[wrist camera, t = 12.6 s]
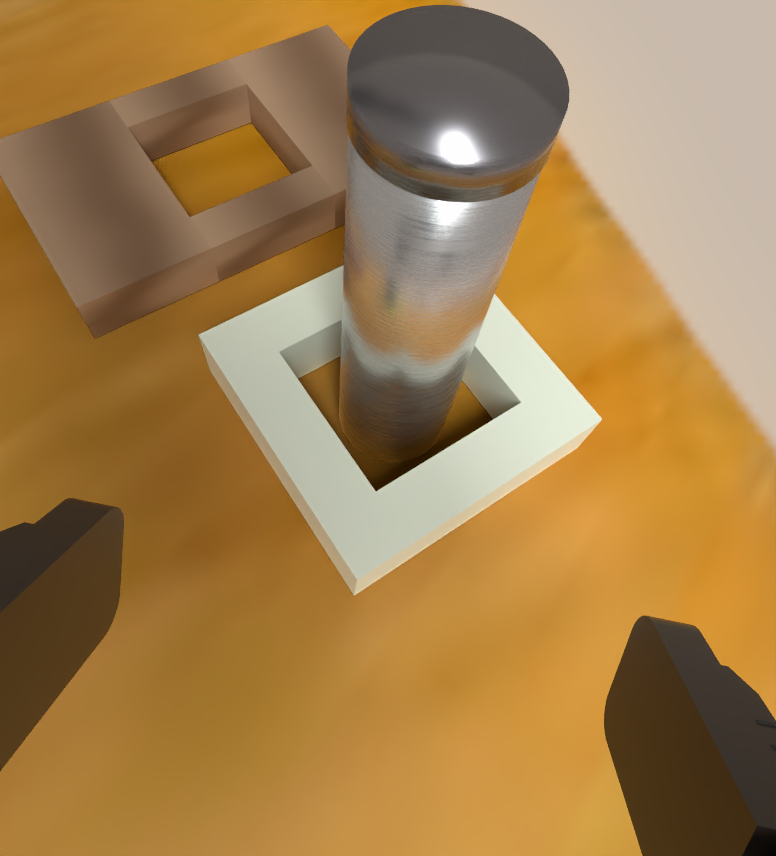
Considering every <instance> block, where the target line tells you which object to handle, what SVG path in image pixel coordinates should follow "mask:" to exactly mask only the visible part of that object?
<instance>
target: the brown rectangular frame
mask: <svg viewBox="0 0 776 856" xmlns="http://www.w3.org/2000/svg"><path fill="white" fill-rule="evenodd" d="M350 52H351V50H350V49H349V48H348V46H347V45H346V44H345V43H344V42H343V41H342V40H341V39H340V38H339V37H338V35H337V34H336V33H335V32H334V31H333V30H332V29H331V28H330V27H329V26H328V25H326V26H323V27H320V28H317V29H314V30H311V31H309V32H306V33H303V34H300V35H297V36H294V37H291V38H288V39H286V40H283V41H280V42H277V43H274V44H271V45H268V46H265V47H263V48H260V49H257V50H254V51H251V52H248V53H245V54H242V55H239V56H237V57H234V58H231V59H228V60H225V61H222V62H219V63H216V64H214V65H211V66H208V67H205V68H202V69H199V70H196V71H193V72H191V73H188V74H185V75H182V76H179V77H176V78H173V79H170V80H168V81H165V82H162V83H159V84H156V85H153V86H150V87H147V88H144V89H142V90H139V91H136V92H133V93H130V94H127V95H124V96H121V97H119V98H116V99H113V100H110V101H107V102H104V103H101V104H98V105H96V106H93V107H90V108H87V109H84V110H81V111H78V112H75V113H73V114H70V115H67V116H64V117H61V118H58V119H55V120H52V121H50V122H47V123H44V124H41V125H38V126H35V127H32V128H29V129H26V130H24V131H21V132H18V133H15V134H12V135H9V136H6V137H3V138H1V139H0V176H1V178H2V180H3V181H4V183H5V185H6V186H7V188H8V190H9V192H10V193H11V195H12V197H13V199H14V200H15V202H16V204H17V205H18V207H19V209H20V211H21V212H22V214H23V216H24V218H25V219H26V221H27V223H28V224H29V226H30V228H31V230H32V231H33V233H34V235H35V237H36V238H37V240H38V242H39V243H40V245H41V247H42V249H43V250H44V252H45V254H46V256H47V257H48V259H49V261H50V262H51V264H52V266H53V268H54V269H55V271H56V273H57V275H58V276H59V278H60V280H61V281H62V283H63V285H64V287H65V288H66V290H67V292H68V294H69V295H70V297H71V299H72V300H73V302H74V304H75V306H76V307H77V309H78V311H79V312H80V314H81V316H82V317H83V319H84V321H85V323H86V324H87V326H88V328H89V329H90V331H91V333H92V334H93V336H94V338H97V337H99V336H101V335H103V334H106V333H108V332H110V331H112V330H114V329H116V328H119V327H121V326H123V325H125V324H127V323H130V322H132V321H134V320H136V319H138V318H140V317H143V316H145V315H147V314H149V313H151V312H154V311H156V310H158V309H160V308H162V307H165V306H167V305H169V304H171V303H173V302H175V301H178V300H180V299H182V298H184V297H186V296H189V295H191V294H193V293H195V292H197V291H199V290H202V289H204V288H206V287H208V286H210V285H213V284H215V283H217V282H219V281H221V280H223V279H226V278H228V277H230V276H232V275H234V274H237V273H239V272H241V271H243V270H245V269H247V268H250V267H252V266H254V265H256V264H258V263H261V262H263V261H265V260H267V259H269V258H271V257H274V256H276V255H278V254H280V253H282V252H285V251H287V250H289V249H291V248H293V247H295V246H298V245H300V244H302V243H304V242H306V241H309V240H311V239H313V238H315V237H317V236H319V235H322V234H324V233H326V232H328V231H330V230H333V229H335V228H337V227H339V226H341V225H344V224H345V208H346V178H347V147H348V131H347V125H346V97H347V64H348V59H349V55H350ZM249 123H252V124H253V125H254V127H255V128H256V129H257V130H258V132H259V133H260V134H261V135H262V137H263V138H264V139H265V141H266V142H267V143H268V144H269V146H270V147H271V148H272V149H273V151H274V152H275V153H276V154H277V156H278V157H279V158H280V160H281V161H282V162H283V163H284V165H285V166H286V167H287V168H288V170H289V171H290V172H291V173H292V174H291V175H289V176H287V177H284V178H282V179H279V180H277V181H275V182H272V183H270V184H268V185H265V186H263V187H260V188H258V189H256V190H253V191H251V192H248V193H246V194H244V195H241V196H239V197H237V198H234V199H232V200H229V201H227V202H225V203H222V204H220V205H217V206H215V207H213V208H210V209H208V210H206V211H203V212H201V213H198V214H196V215H194V216H191V217H189V215H188V214H187V212H186V211H185V210H184V208H183V207H182V205H181V204H180V202H179V201H178V200H177V198H176V197H175V195H174V194H173V192H172V191H171V189H170V188H169V187H168V185H167V184H166V182H165V181H164V179H163V178H162V176H161V175H160V174H159V172H158V171H157V169H156V168H155V166H154V165H153V164H152V162H151V161H152V160H155V159H157V158H160V157H163V156H165V155H168V154H171V153H173V152H176V151H178V150H181V149H184V148H186V147H189V146H191V145H194V144H197V143H199V142H202V141H204V140H207V139H210V138H212V137H215V136H217V135H220V134H223V133H225V132H228V131H230V130H233V129H236V128H238V127H241V126H243V125H246V124H249Z"/></svg>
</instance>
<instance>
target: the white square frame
mask: <svg viewBox="0 0 776 856" xmlns="http://www.w3.org/2000/svg"><path fill="white" fill-rule="evenodd" d="M343 270H344V265H343V266H340V267H338V268H336V269H334V270H332V271H330V272H328V273H326V274H324V275H322V276H320V277H318V278H315V279H313V280H311V281H309V282H307V283H305V284H303V285H301V286H299V287H297V288H295V289H293V290H290V291H288V292H286V293H284V294H282V295H280V296H278V297H276V298H274V299H272V300H270V301H268V302H265V303H263V304H261V305H259V306H257V307H255V308H253V309H251V310H249V311H247V312H245V313H243V314H240V315H238V316H236V317H234V318H232V319H230V320H228V321H226V322H224V323H222V324H220V325H218V326H215V327H213V328H211V329H209V330H207V331H205V332H203V333H201V334H199V338H200V341H201V345H202V348H203V351H204V354H205V357H206V360H207V363H208V366H209V369H210V372H211V373H212V375H213V376H214V378H215V379H216V381H217V383H218V384H219V386H220V387H221V389H222V390H223V392H224V393H225V395H226V397H227V398H228V400H229V401H230V403H231V404H232V406H233V408H234V409H235V411H236V412H237V414H238V415H239V417H240V418H241V420H242V422H243V423H244V425H245V426H246V428H247V429H248V431H249V433H250V434H251V436H252V437H253V439H254V440H255V442H256V443H257V445H258V447H259V448H260V450H261V451H262V453H263V454H264V456H265V458H266V459H267V461H268V462H269V464H270V465H271V467H272V468H273V470H274V472H275V473H276V475H277V476H278V478H279V479H280V481H281V483H282V484H283V486H284V487H285V489H286V490H287V492H288V493H289V495H290V497H291V498H292V500H293V501H294V503H295V504H296V506H297V508H298V509H299V511H300V512H301V514H302V515H303V517H304V518H305V520H306V522H307V523H308V525H309V526H310V528H311V529H312V531H313V533H314V534H315V536H316V537H317V539H318V540H319V542H320V543H321V545H322V547H323V548H324V550H325V551H326V553H327V554H328V556H329V558H330V559H331V561H332V562H333V564H334V565H335V567H336V568H337V570H338V572H339V573H340V575H341V576H342V578H343V579H344V581H345V583H346V584H347V586H348V587H349V589H350V590H351V592H352V593H353V595H356V594H357V593H359V592H360V591H362V590H364V589H365V588H367V587H368V586H370V585H371V584H373V583H374V582H376V581H377V580H379V579H380V578H382V577H383V576H385V575H386V574H388V573H389V572H391V571H392V570H394V569H395V568H397V567H398V566H400V565H401V564H403V563H404V562H406V561H407V560H409V559H410V558H412V557H413V556H415V555H416V554H418V553H419V552H421V551H422V550H424V549H425V548H427V547H428V546H430V545H431V544H433V543H434V542H436V541H438V540H439V539H441V538H442V537H444V536H445V535H447V534H448V533H450V532H451V531H453V530H454V529H456V528H457V527H459V526H460V525H462V524H463V523H465V522H466V521H468V520H469V519H471V518H472V517H474V516H475V515H477V514H478V513H480V512H481V511H483V510H484V509H486V508H487V507H489V506H490V505H492V504H493V503H495V502H496V501H498V500H499V499H501V498H502V497H504V496H505V495H507V494H508V493H510V492H512V491H513V490H515V489H516V488H518V487H519V486H521V485H522V484H524V483H525V482H527V481H528V480H530V479H531V478H533V477H534V476H536V475H537V474H539V473H540V472H542V471H543V470H545V469H546V468H548V467H549V466H551V465H552V464H554V463H555V462H557V461H558V460H560V459H561V458H563V457H564V456H566V455H567V454H569V453H570V452H572V451H573V450H575V449H576V448H578V447H579V445H580V444H581V443H582V442H583V441H584V440H585V439H586V437H587V436H588V435H589V434H590V433H591V432H592V431H593V429H594V428H595V427H596V426H597V425H598V424H599V423H600V421H601V420H602V418H601V417H600V416H599V415H598V414H597V413H596V411H595V410H594V409H593V408H592V407H591V406H590V404H589V403H588V402H587V401H586V400H585V399H584V397H583V396H582V395H581V394H580V393H579V392H578V390H577V389H576V388H575V387H574V386H573V385H572V383H571V382H570V381H569V380H568V379H567V378H566V376H565V375H564V374H563V373H562V372H561V371H560V370H559V368H558V367H557V366H556V365H555V364H554V363H553V361H552V360H551V359H550V358H549V357H548V356H547V354H546V353H545V352H544V351H543V350H542V349H541V347H540V346H539V345H538V344H537V343H536V342H535V340H534V339H533V338H532V337H531V336H530V335H529V333H528V332H527V331H526V330H525V329H524V328H523V327H522V325H521V324H520V323H519V322H518V321H517V320H516V318H515V317H514V316H513V315H512V314H511V313H510V311H509V310H508V309H507V308H506V307H505V306H504V304H503V303H502V302H501V301H500V300H499V299H498V297H497V296H496V295H495V294H494V296H493V298H492V301H491V304H490V306H489V309H488V312H487V314H486V317H485V320H484V322H483V325H482V328H481V330H480V333H479V335H478V338H477V341H476V343H475V346H474V349H473V351H472V354H471V357H470V359H469V362H468V364H467V367H466V370H465V372H464V375H463V378H462V381H463V382H464V383H465V385H466V386H467V387H468V388H469V390H470V391H471V392H472V393H473V395H474V396H475V397H476V398H477V400H478V401H479V402H480V403H481V405H482V406H483V407H484V408H485V410H486V411H487V412H488V414H489V415H490V416H491V417H492V419H493V420H492V421H490V422H488V423H487V424H485V425H484V426H482V427H480V428H479V429H477V430H475V431H474V432H472V433H471V434H469V435H467V436H466V437H464V438H462V439H461V440H459V441H457V442H456V443H454V444H453V445H451V446H449V447H448V448H446V449H444V450H443V451H441V452H440V453H438V454H436V455H435V456H433V457H431V458H430V459H428V460H426V461H425V462H423V463H422V464H420V465H418V466H417V467H415V468H413V469H412V470H410V471H409V472H407V473H405V474H404V475H402V476H400V477H399V478H397V479H395V480H394V481H392V482H391V483H389V484H387V485H386V486H384V487H382V488H381V489H379V490H378V491H375V490H374V488H373V487H372V485H371V484H370V483H369V481H368V480H367V478H366V477H365V475H364V474H363V472H362V471H361V470H360V468H359V467H358V465H357V464H356V462H355V461H354V459H353V458H352V457H351V455H350V454H349V452H348V451H347V449H346V448H345V446H344V445H343V444H342V442H341V441H340V439H339V438H338V436H337V435H336V433H335V432H334V431H333V429H332V428H331V426H330V425H329V423H328V422H327V420H326V419H325V418H324V416H323V415H322V413H321V412H320V410H319V409H318V407H317V406H316V405H315V403H314V402H313V400H312V399H311V397H310V396H309V394H308V393H307V392H306V390H305V389H304V387H303V386H302V384H301V383H300V381H299V380H298V378H300V377H302V376H304V375H306V374H308V373H310V372H312V371H313V370H315V369H317V368H319V367H321V366H323V365H325V364H327V363H329V362H330V361H332V360H334V359H336V358H338V357H340V356H341V331H342V300H343Z"/></svg>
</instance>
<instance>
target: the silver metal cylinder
mask: <svg viewBox="0 0 776 856" xmlns="http://www.w3.org/2000/svg"><path fill="white" fill-rule="evenodd" d="M568 103H569V86H568V80H567V77H566V74H565V72H564V69H563V67H562V66H561V64H560V62H559V60H558V59H557V57H556V56H555V55H554V54H553V52H552V51H551V50H550V49H549V48H548V47H547V46H546V45H545V43H543V42H542V41H541V40H540V39H539V38H538V37H536V36H535V35H534V34H532V33H531V32H529V31H528V30H526V29H525V28H523V27H522V26H520V25H518V24H516V23H514V22H512V21H510V20H508V19H506V18H503V17H501V16H498V15H495V14H492V13H489V12H486V11H482V10H478V9H474V8H468V7H462V6H451V5H431V6H421V7H415V8H410V9H406V10H403V11H399V12H396V13H394V14H391V15H389V16H386V17H384V18H383V19H381V20H379V21H377V22H376V23H374V24H373V25H372V26H370V27H369V28H368V29H366V30H365V32H364V33H363V34H362V35H361V36H360V37H359V38H358V40H357V41H356V43H355V44H354V46H353V48H352V50H351V52H350V55H349V59H348V64H347V97H346V125H347V131H348V147H347V178H346V208H345V239H344V270H343V300H342V331H341V361H340V392H339V421H340V425H341V428H342V430H343V433H344V435H345V436H346V438H347V439H348V441H349V442H350V443H351V444H352V445H353V446H354V447H355V448H356V449H357V450H358V451H360V452H361V453H362V454H364V455H366V456H368V457H370V458H372V459H375V460H379V461H383V462H392V463H397V462H405V461H409V460H412V459H415V458H418V457H419V456H421V455H423V454H425V453H426V452H427V451H429V450H430V449H431V448H432V447H433V446H434V445H435V443H436V442H437V441H438V439H439V437H440V435H441V433H442V430H443V428H444V425H445V423H446V420H447V417H448V415H449V412H450V409H451V407H452V404H453V401H454V399H455V396H456V393H457V391H458V388H459V386H460V383H461V380H462V378H463V375H464V372H465V370H466V367H467V364H468V362H469V359H470V357H471V354H472V351H473V349H474V346H475V343H476V341H477V338H478V335H479V333H480V330H481V328H482V325H483V322H484V320H485V317H486V314H487V312H488V309H489V306H490V304H491V301H492V298H493V296H494V293H495V291H496V288H497V285H498V283H499V280H500V277H501V275H502V272H503V269H504V267H505V264H506V262H507V259H508V256H509V254H510V251H511V248H512V246H513V243H514V240H515V238H516V235H517V233H518V230H519V227H520V225H521V222H522V219H523V217H524V214H525V211H526V209H527V206H528V203H529V201H530V198H531V196H532V193H533V190H534V188H535V185H536V182H537V180H538V177H539V174H540V172H541V170H542V169H543V167H544V165H545V164H546V162H547V160H548V158H549V155H550V153H551V150H552V147H553V145H554V142H555V140H556V137H557V134H558V132H559V129H560V127H561V124H562V121H563V119H564V116H565V114H566V111H567V108H568Z"/></svg>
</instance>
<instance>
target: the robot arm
mask: <svg viewBox="0 0 776 856" xmlns="http://www.w3.org/2000/svg"><path fill="white" fill-rule="evenodd" d="M123 529H124V518H123V513H122V511H121V509H120V508H118V507H113V506H108V505H103V504H98V503H93V502H88V501H83V500H78V499H73V498H69V499H66V500H64V501H63V502H62V503H60V504H59V505H58V506H57V507H55V508H54V509H53V510H52V511H50V512H49V513H48V514H46V515H45V516H44V517H43V518H41V519H40V520H39V521H38V522H36V523H35V524H30V523H25V522H24V523H22V524H19V525H16V526H14V527H11V528H9V529H6V530H3V531H1V532H0V771H1V769H2V768H3V767H4V766H5V764H6V763H7V762H8V760H9V759H10V758H11V757H12V755H13V754H14V753H15V751H16V750H17V749H18V747H19V746H20V745H21V744H22V742H23V741H24V740H25V738H26V737H27V736H28V735H29V733H30V732H31V731H32V729H33V728H34V727H35V726H36V724H37V723H38V722H39V720H40V719H41V718H42V716H43V715H44V714H45V713H46V711H47V710H48V709H49V707H50V706H51V705H52V704H53V702H54V701H55V700H56V698H57V697H58V696H59V695H60V693H61V692H62V691H63V689H64V688H65V687H66V685H67V684H68V683H69V682H70V680H71V679H72V678H73V676H74V675H75V674H76V673H77V671H78V670H79V669H80V667H81V666H82V665H83V663H84V662H85V661H86V660H87V658H88V657H89V656H90V654H91V653H92V652H93V651H94V649H95V648H96V647H97V645H98V644H99V643H100V642H101V640H102V639H103V638H104V636H105V635H106V633H107V632H108V630H109V628H110V626H111V624H112V621H113V619H114V616H115V613H116V610H117V607H118V602H119V596H120V582H121V564H122V547H123ZM604 728H605V736H606V740H607V744H608V747H609V750H610V753H611V757H612V760H613V763H614V766H615V769H616V773H617V776H618V779H619V782H620V785H621V788H622V792H623V795H624V798H625V801H626V804H627V808H628V811H629V814H630V817H631V820H632V823H633V827H634V830H635V833H636V836H637V839H638V843H639V846H640V849H641V852H642V855H643V856H776V720H775V719H774V717H773V716H772V714H771V713H770V711H769V710H768V708H767V707H766V705H765V704H764V702H763V701H762V699H761V697H760V696H759V694H757V693H756V692H755V691H754V690H753V689H752V688H751V687H750V686H749V685H748V684H747V683H746V682H744V681H743V680H742V679H741V678H740V677H739V676H738V675H737V674H736V673H735V672H734V671H732V670H731V669H730V668H729V667H728V666H723V665H720V663H719V661H718V660H717V658H716V657H715V655H714V653H713V652H712V650H711V648H710V647H709V645H708V644H707V642H706V640H705V639H704V637H703V635H702V634H701V632H700V631H699V629H698V628H697V627H695V626H693V625H689V624H684V623H680V622H675V621H670V620H665V619H660V618H655V617H650V616H641V617H640V618H639V619H638V620H637V621H636V623H635V624H634V626H633V629H632V631H631V634H630V637H629V639H628V642H627V645H626V647H625V650H624V653H623V656H622V658H621V661H620V664H619V666H618V669H617V672H616V674H615V677H614V680H613V682H612V685H611V688H610V691H609V693H608V696H607V700H606V705H605V713H604Z"/></svg>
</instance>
